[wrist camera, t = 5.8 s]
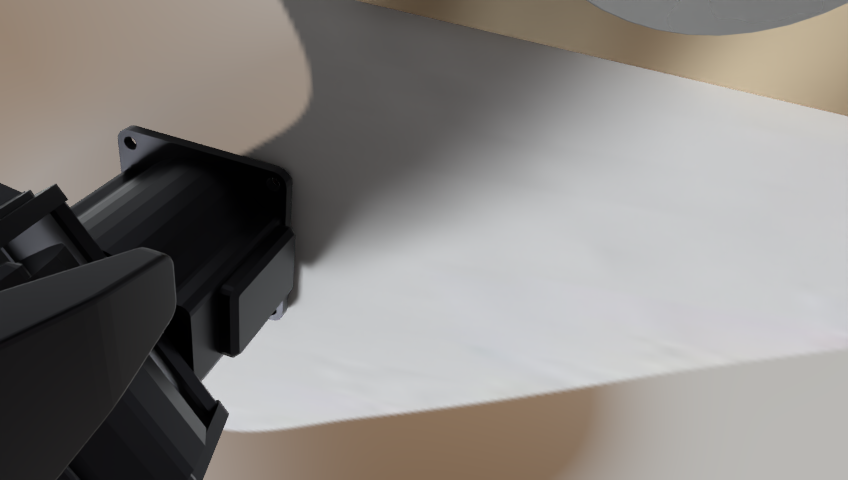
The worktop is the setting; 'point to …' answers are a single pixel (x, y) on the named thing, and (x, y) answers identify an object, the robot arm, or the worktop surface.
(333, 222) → the worktop surface
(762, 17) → the pot lid
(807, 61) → the oak board
